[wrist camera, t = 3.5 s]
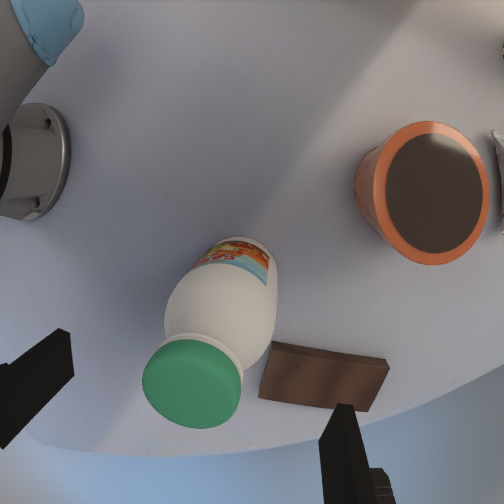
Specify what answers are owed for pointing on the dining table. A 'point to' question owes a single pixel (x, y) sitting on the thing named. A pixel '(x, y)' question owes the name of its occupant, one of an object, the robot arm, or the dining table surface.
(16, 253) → the dining table surface
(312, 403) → the walnut board
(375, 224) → the flower pot
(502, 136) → the packaged food
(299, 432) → the dining table surface
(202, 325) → the milk bottle
